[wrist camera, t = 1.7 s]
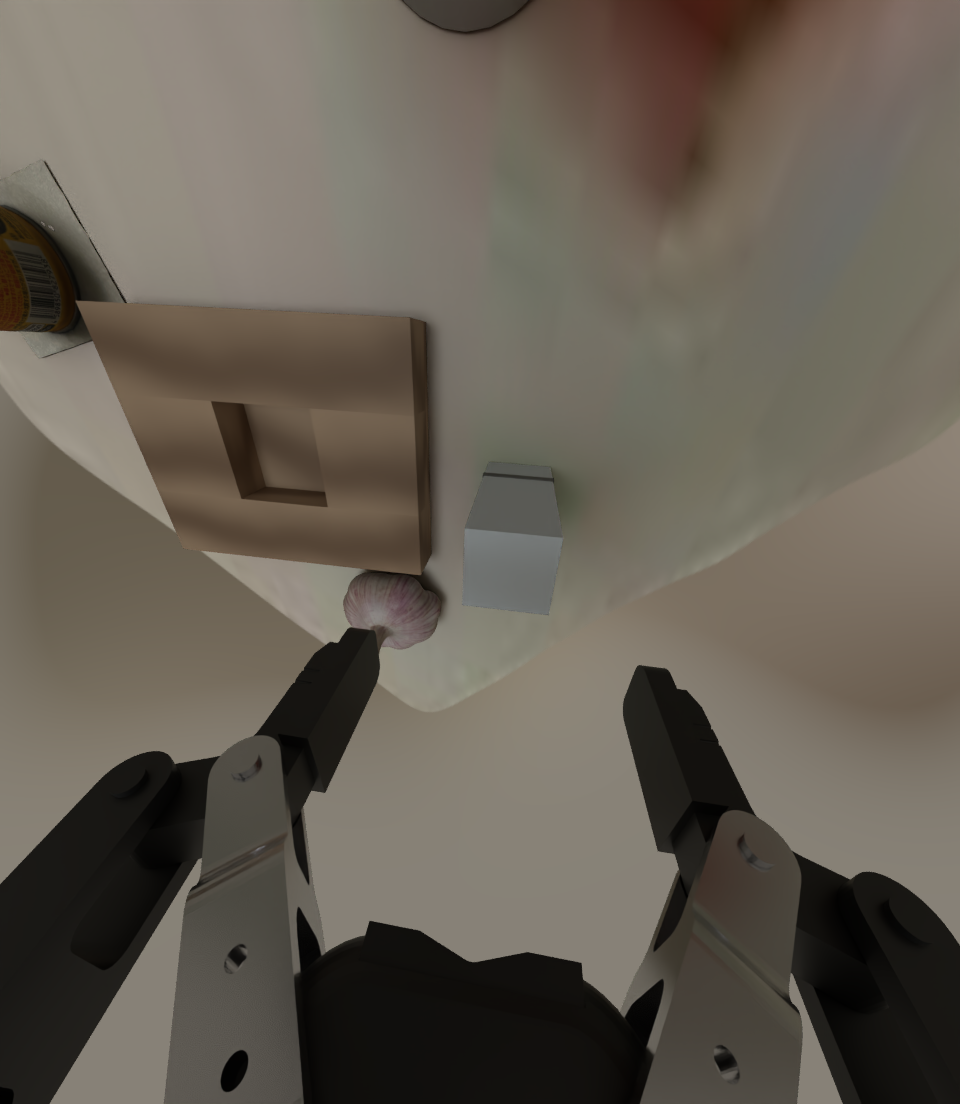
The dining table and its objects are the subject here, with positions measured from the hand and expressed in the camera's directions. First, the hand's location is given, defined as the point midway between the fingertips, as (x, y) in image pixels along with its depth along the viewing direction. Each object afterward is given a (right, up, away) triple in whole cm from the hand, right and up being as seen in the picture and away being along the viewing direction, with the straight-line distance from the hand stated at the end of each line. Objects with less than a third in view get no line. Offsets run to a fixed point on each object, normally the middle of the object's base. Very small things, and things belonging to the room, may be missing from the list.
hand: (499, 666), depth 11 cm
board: (-13, +11, +13) cm, 21 cm away
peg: (+2, +8, +13) cm, 15 cm away
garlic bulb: (-7, 0, +19) cm, 20 cm away
